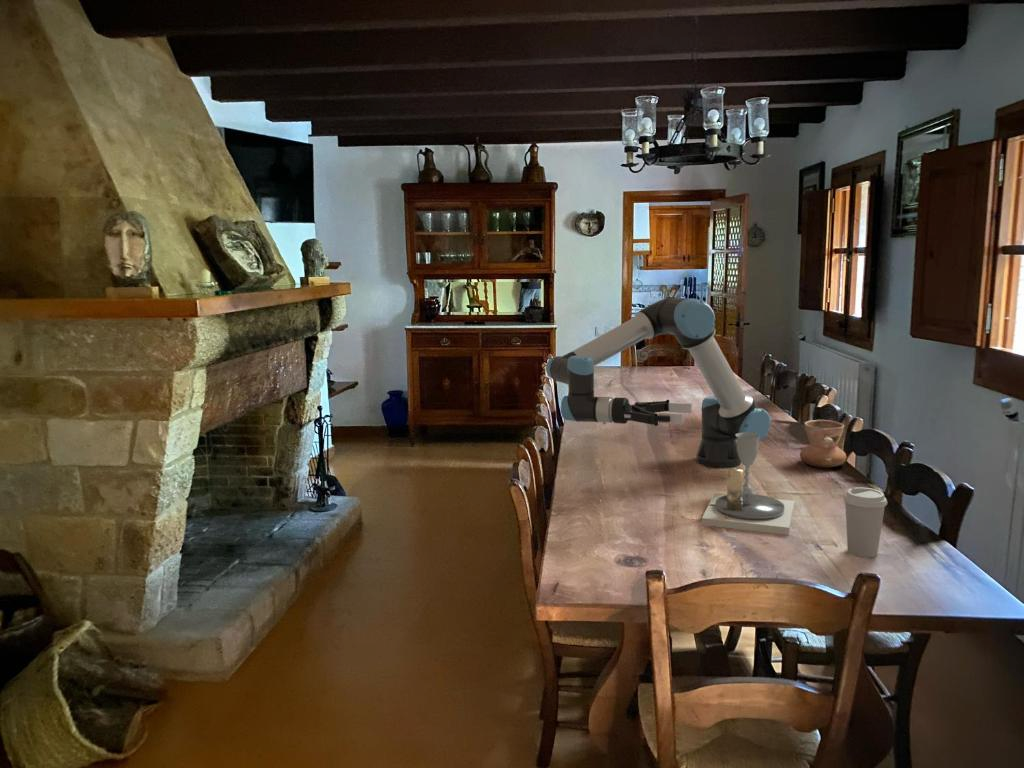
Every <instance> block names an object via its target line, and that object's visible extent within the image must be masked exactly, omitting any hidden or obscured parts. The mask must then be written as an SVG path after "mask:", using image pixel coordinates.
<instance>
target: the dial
mask: <svg viewBox="0 0 1024 768" xmlns="http://www.w3.org/2000/svg"><path fill="white" fill-rule="evenodd" d="M726 477H727V483H726V484H727V485H726V486H727V487H726V489H727V491H726V494H727V495H726V496H722V497H720V498H718V499H717V500H716V509H717V510H718V511H719V512H721V513H723V514H725V515H728V516H731V517H735V518H741V519H750V520H764V519H772V518H776V517H779V516H781V515H782V514H783V513H784V504H783V503H782V502H780V501H779V500H780V499H779V500H776V499H777V498H774V497H771V496H768V495H761V494H756V493H755V494H743V485H744V483H743V482H744V469H743V468H741V467H737V466H733V467H727V476H726Z"/></svg>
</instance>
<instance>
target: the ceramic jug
mask: <svg viewBox="0 0 1024 768" xmlns="http://www.w3.org/2000/svg"><path fill="white" fill-rule="evenodd" d="M844 428H845V424H843V423H841V422H839V421H834V420H831V419H830V420H827V419H815V420H814V419H810V420H808V421H805V422H804V429H805V433H806V434H805V435H806V436H807V440H808V442H809V444H808V445H807V446H805V447H803V448H802V450H800V453H799V456H800V457H799V458H800V460H801V461H802V462H804V463H805V464H807V465H808V466H811V467H815V468H825V469H828V468H829V469H830V468H834V467H839V466H842V465H843V464H844V463H845V462H846V460H847V453H846V452H845V451H844V450H843V449H841V448H839V446H838V443H839V442H840V439H841V438H842V435H843V432H844V430H845V429H844Z"/></svg>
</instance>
